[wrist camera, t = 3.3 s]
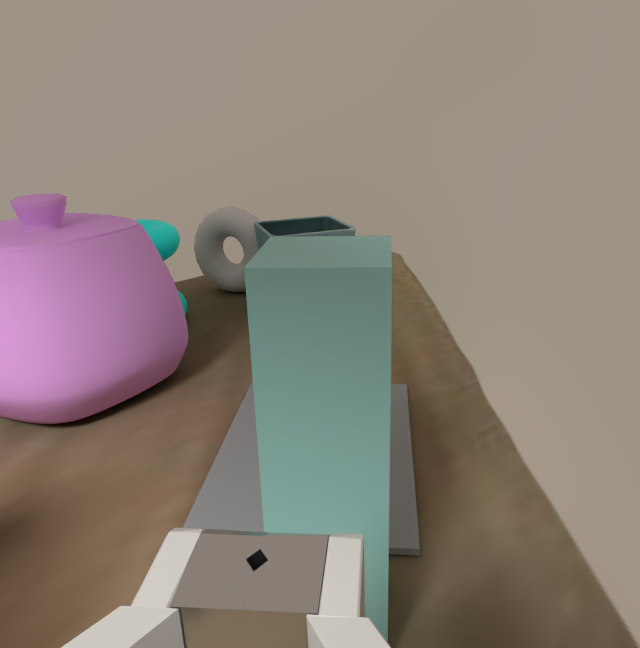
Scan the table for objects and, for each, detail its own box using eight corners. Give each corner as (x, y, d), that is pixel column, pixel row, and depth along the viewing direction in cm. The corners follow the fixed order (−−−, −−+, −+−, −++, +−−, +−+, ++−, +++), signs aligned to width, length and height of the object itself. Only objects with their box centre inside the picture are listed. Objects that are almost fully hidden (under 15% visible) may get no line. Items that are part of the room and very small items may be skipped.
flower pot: (257, 299, 68) (252, 220, 65) (331, 291, 70) (330, 214, 67) (275, 325, 60) (270, 236, 57) (357, 314, 62) (357, 228, 59)
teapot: (68, 326, 61) (40, 176, 56) (223, 369, 50) (207, 186, 45) (-206, 423, 44) (-284, 215, 38) (-59, 521, 33) (-140, 249, 27)
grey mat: (419, 555, 29) (420, 548, 29) (178, 544, 30) (177, 537, 30) (406, 388, 46) (406, 383, 46) (252, 385, 47) (251, 381, 47)
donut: (280, 291, 71) (276, 205, 67) (267, 299, 68) (261, 211, 64) (208, 284, 74) (200, 202, 71) (192, 291, 71) (183, 207, 68)
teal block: (387, 665, 23) (392, 267, 18) (273, 657, 24) (244, 267, 18) (386, 579, 28) (390, 235, 22) (290, 574, 28) (270, 236, 23)
